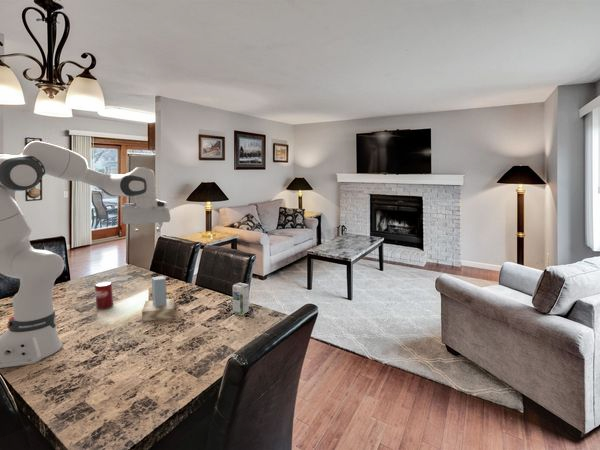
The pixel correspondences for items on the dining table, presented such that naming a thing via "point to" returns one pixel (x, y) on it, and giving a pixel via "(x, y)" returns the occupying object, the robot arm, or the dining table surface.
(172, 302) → the birch block
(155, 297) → the slate block
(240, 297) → the syrup box
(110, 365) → the dining table surface
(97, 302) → the soda can
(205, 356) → the dining table surface
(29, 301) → the robot arm
